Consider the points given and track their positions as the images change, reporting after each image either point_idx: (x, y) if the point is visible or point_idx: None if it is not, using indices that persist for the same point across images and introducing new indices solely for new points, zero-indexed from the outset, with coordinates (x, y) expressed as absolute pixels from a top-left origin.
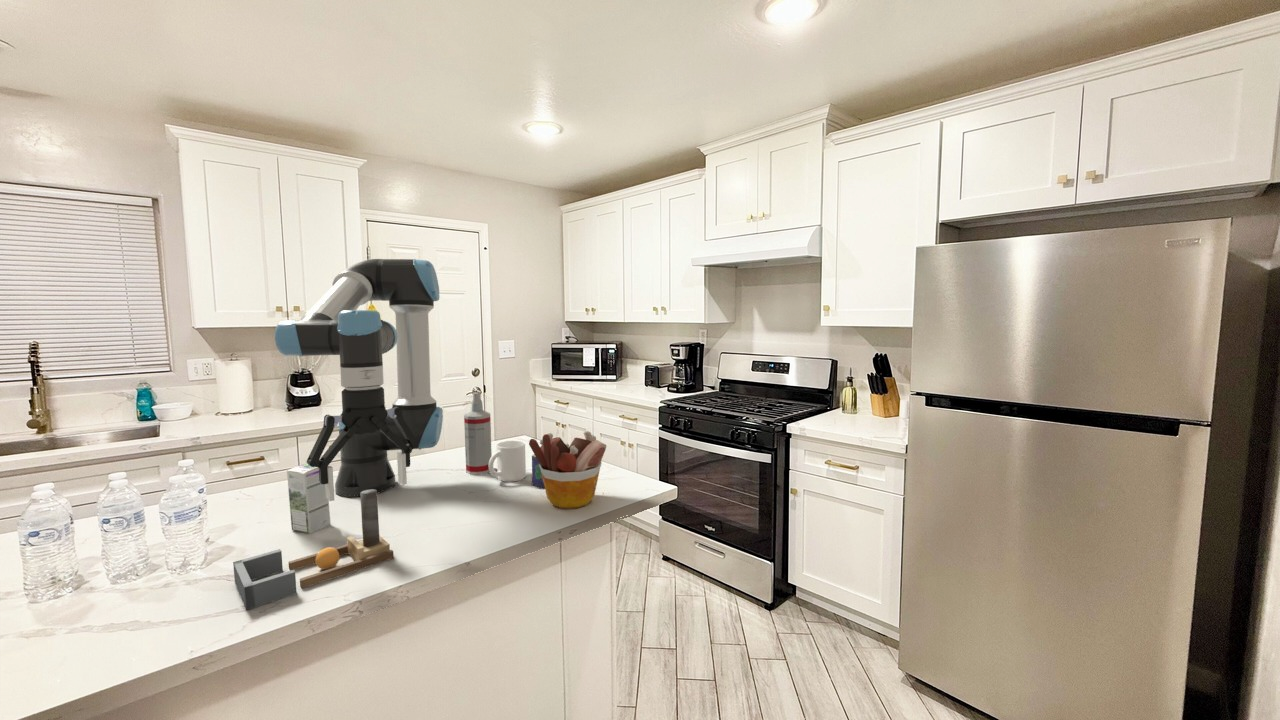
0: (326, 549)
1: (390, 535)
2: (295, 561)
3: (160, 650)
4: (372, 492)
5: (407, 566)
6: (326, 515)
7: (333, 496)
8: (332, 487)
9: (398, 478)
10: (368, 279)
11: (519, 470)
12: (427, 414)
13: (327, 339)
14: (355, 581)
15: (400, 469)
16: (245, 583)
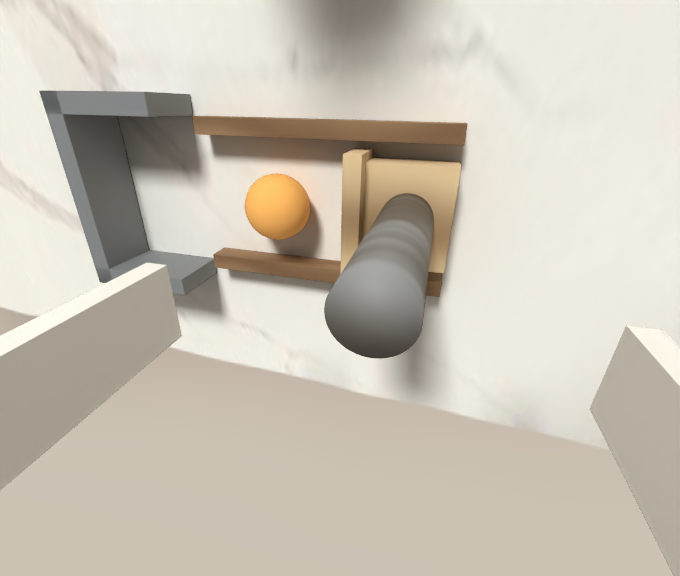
0: (262, 220)
1: (543, 89)
2: (208, 131)
3: (54, 283)
4: (384, 343)
5: (438, 353)
6: None
7: (163, 347)
8: (118, 381)
9: (637, 351)
10: None
11: None
12: None
13: None
14: (322, 321)
15: (668, 478)
16: (98, 263)
